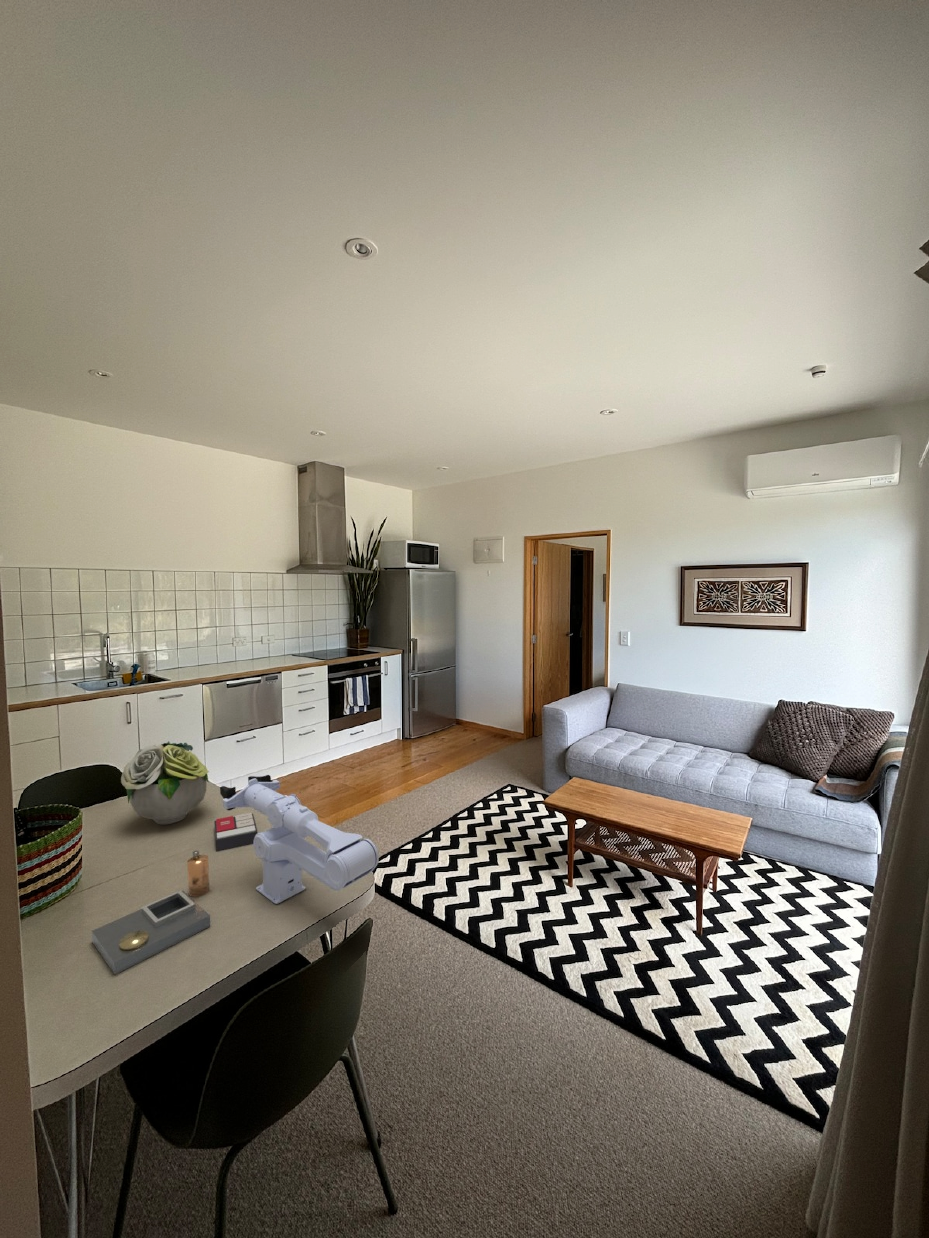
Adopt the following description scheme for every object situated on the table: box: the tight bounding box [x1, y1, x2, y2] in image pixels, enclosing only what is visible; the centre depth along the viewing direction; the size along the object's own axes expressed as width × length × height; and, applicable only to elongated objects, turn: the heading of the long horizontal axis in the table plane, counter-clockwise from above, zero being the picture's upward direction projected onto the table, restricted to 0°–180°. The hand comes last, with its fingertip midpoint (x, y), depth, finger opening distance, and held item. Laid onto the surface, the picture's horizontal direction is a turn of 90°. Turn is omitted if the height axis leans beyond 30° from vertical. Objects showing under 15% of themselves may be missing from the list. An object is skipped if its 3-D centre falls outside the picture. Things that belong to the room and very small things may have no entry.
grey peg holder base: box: [91, 889, 211, 976], centre depth 109 cm, size 14×18×4 cm
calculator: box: [213, 812, 258, 852], centre depth 152 cm, size 11×4×15 cm
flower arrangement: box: [120, 741, 210, 826], centre depth 161 cm, size 25×25×24 cm
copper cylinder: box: [186, 850, 210, 898], centre depth 124 cm, size 4×4×10 cm
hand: (235, 785), depth 136 cm, fingers open, 7 cm apart
